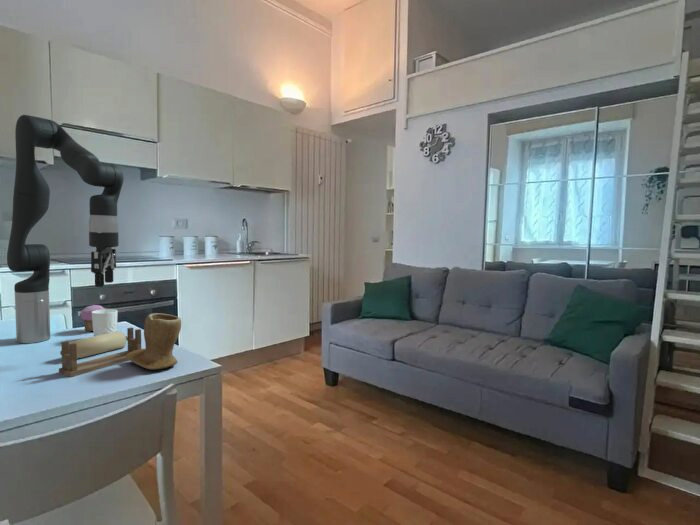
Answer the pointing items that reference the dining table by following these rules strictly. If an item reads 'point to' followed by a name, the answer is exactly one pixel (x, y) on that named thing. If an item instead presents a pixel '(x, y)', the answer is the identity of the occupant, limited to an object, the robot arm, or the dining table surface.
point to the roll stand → (75, 369)
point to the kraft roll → (99, 344)
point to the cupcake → (89, 316)
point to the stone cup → (157, 342)
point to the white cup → (104, 321)
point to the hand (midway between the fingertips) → (104, 284)
